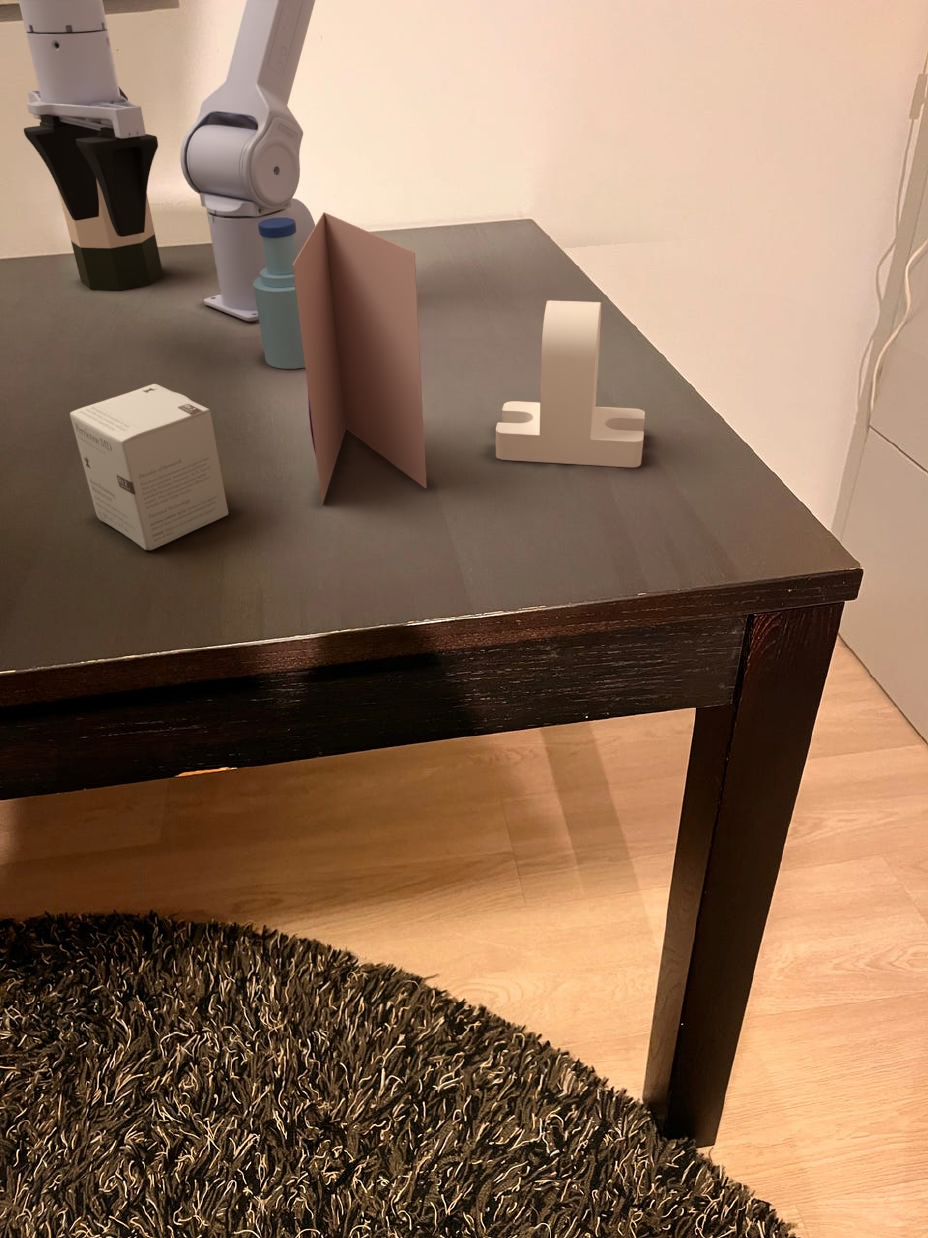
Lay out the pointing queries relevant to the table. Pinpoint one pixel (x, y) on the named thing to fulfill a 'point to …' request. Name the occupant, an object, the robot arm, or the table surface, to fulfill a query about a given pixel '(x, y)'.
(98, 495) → the product carton
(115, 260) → the wine bottle
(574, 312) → the white mounting bracket
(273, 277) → the bottle
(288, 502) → the table surface
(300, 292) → the greeting card
